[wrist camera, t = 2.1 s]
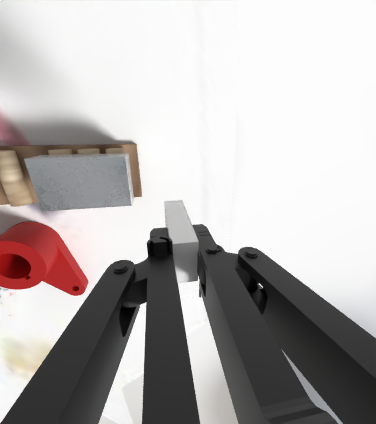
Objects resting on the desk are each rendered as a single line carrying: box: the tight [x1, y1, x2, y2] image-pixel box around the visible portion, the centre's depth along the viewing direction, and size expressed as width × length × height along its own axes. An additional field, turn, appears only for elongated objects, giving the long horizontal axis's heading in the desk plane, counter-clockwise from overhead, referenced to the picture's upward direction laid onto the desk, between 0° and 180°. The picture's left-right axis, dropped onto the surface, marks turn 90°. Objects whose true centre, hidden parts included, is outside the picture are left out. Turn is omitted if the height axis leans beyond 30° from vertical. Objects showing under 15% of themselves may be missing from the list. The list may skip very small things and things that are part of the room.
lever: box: [0, 222, 88, 296], centre depth 35 cm, size 18×9×7 cm, turn 29°
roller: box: [0, 150, 33, 206], centre depth 29 cm, size 8×3×3 cm
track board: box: [0, 144, 142, 205], centre depth 29 cm, size 28×9×7 cm, turn 90°
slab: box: [24, 153, 134, 211], centre depth 28 cm, size 12×7×4 cm, turn 90°
